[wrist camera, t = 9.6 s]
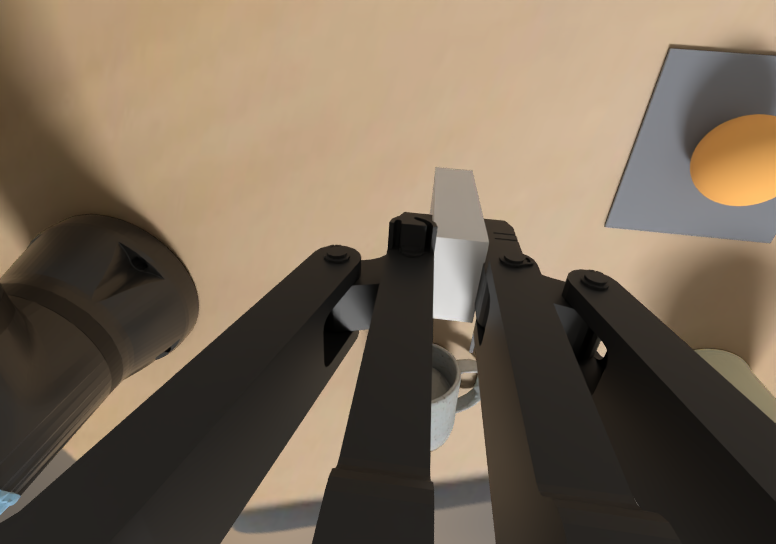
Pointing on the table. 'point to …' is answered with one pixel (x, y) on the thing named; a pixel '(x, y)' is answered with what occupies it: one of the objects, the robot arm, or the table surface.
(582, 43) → the table surface
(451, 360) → the ceramic mug
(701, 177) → the ball
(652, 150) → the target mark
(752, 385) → the can
